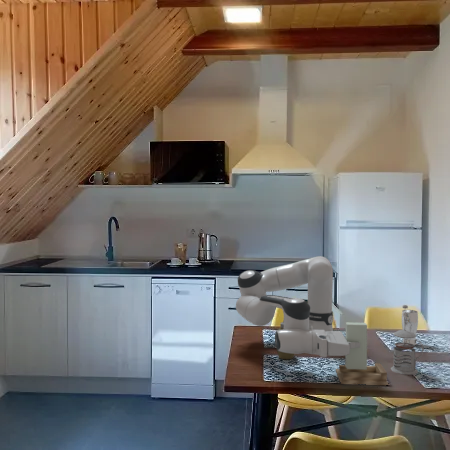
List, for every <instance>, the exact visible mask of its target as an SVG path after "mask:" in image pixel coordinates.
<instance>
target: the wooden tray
mask: <svg viewBox="0 0 450 450" xmlns="http://www.w3.org/2000/svg"><path fill="white" fill-rule="evenodd" d="M338 366H339V367H338V368H335V373H336V375H337V378H338V380H339V382H341V383H340V384H341V385H358V384H366V386H386V385H388V386H389V383H388V372H387V371H386V369H385V368H384V366H383V365H382V364H381V363H374V365H367V370H364V369H347V368H346V366H345V364H339V365H338Z"/></svg>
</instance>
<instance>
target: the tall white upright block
mask: <svg viewBox="0 0 450 450" xmlns="http://www.w3.org/2000/svg"><path fill="white" fill-rule="evenodd" d="M345 337H346V340H347V342H359V343H360V348H352V349H350V354H349V355H345V356H344V357H345V360H344V363H345V364H344V365H345V366H346V368H347V369H364V370H367V366H368V324H367V323H366V322H348V321H347V322H346V321H345Z"/></svg>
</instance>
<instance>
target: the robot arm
mask: <svg viewBox="0 0 450 450" xmlns="http://www.w3.org/2000/svg"><path fill="white" fill-rule="evenodd" d="M333 275H334V269H333V265H332V264H331V261H330V260H329V258H327V257H325V256H322V255H321V256H320V255H318V256H314V257H310V258H307V259H303V260H299V261H296V262H293V263H287V264H284V265H279V266H275V267H271V268H268V269H265V270H263V271H261V272H259V271H256V270H251V269H249V270H244V271H243V272H241V273H239V275H238V276H237V285H238V288H239V293H240V297H239V298H238V299H237V300H236V303H235V310H236V312H237V313H238V314H239V315H240V316H241V317H242V318H243V319H244V320H245V321H248V322H249V323H251V324H252V325H255V326H259V327H263V326H266V325H268V324H269V323H270V322H271V321H273V319H274V317H275V315H276V310H277V309H281V310H282V313H283V320H284V329H283V330H276V331H275V333H274V345H275V348H276V351H277V350H278V351H280V352H284V353H293V354H294V355H296V354H297V355H300V354H309V355H317V356H320V357H322V358H327V357H342V356H343V357H345V355H349V354H350V349H352V348H360V343H359V342H347V340H346V336H345V335H344V334H343V331H340V330H334V327H333V321H334V312H333V282H334V281H333V279H334V278H333V277H334V276H333ZM306 284H307V301H306V300H305V299H304V298H298V297H297V298H296V297H288V296H283V295H282V296H281V295H276V294H275V295H274V294H267V293H268V292H269V293H271V292H278V291H284V290H290V289H293V288H297V287H298V288H299V287H301V286H303V285H306Z"/></svg>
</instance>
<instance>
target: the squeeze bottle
mask: <svg viewBox="0 0 450 450" xmlns="http://www.w3.org/2000/svg"><path fill="white" fill-rule="evenodd" d="M279 325H280V327H279V328H278V330H283V329H284V319H283V321H282V322H280V324H279ZM276 351H277V356H278V358H280V359H282V360H292V359H294V357H295V354H293V353H284V352H280V351H278V350H277V349H276Z"/></svg>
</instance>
